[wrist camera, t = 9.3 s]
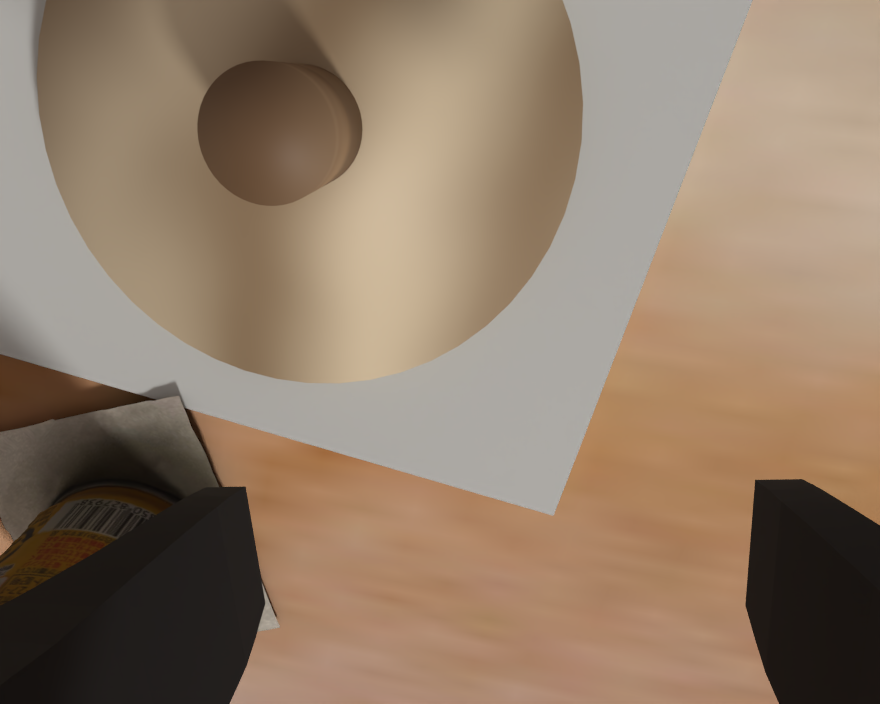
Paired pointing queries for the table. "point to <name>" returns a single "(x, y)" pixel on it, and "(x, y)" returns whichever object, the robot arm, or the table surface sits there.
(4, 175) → the mat
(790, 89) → the table surface
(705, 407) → the table surface
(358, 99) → the lid
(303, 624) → the table surface
